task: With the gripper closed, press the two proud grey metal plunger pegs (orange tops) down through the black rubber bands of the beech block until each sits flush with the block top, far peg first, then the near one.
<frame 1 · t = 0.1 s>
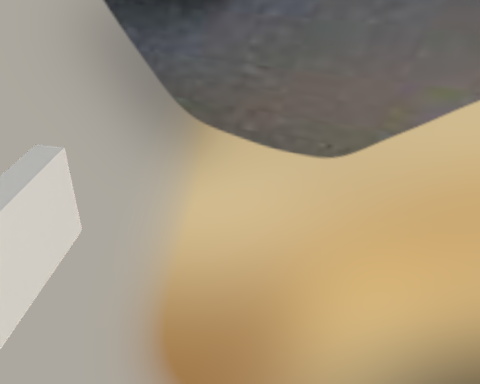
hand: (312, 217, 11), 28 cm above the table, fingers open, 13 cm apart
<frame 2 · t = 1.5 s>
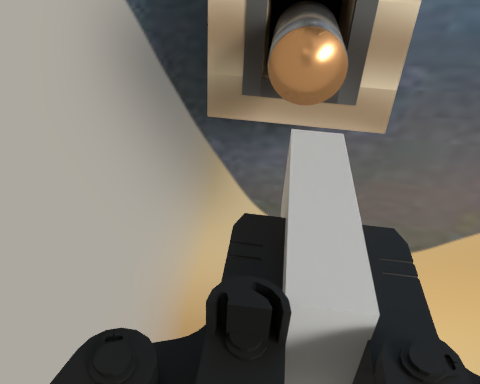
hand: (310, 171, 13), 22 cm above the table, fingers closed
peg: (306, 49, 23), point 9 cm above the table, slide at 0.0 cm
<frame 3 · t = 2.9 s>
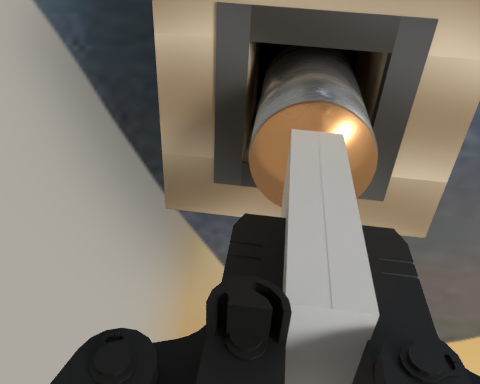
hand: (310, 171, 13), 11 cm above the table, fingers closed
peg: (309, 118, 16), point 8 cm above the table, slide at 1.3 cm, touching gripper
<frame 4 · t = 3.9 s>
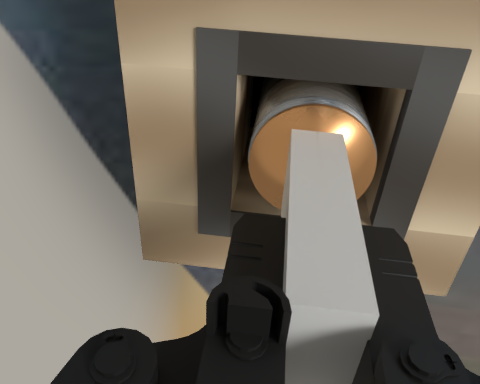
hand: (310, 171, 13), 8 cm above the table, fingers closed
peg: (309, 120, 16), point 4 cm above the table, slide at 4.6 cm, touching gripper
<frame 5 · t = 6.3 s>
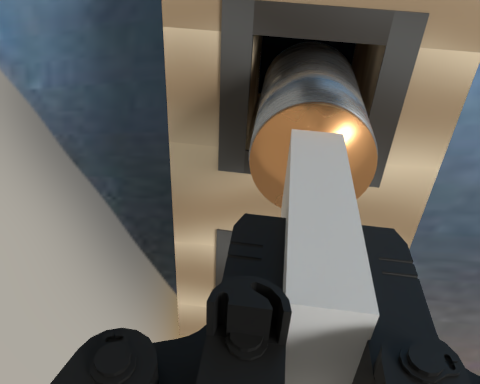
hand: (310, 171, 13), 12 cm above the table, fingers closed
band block: (294, 142, 26), on the table
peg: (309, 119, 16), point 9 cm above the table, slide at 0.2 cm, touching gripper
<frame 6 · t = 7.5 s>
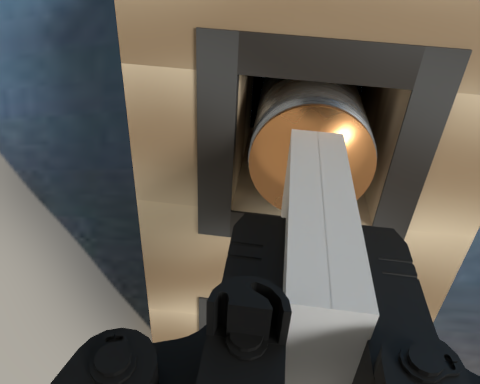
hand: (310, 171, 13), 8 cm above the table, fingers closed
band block: (293, 182, 22), on the table
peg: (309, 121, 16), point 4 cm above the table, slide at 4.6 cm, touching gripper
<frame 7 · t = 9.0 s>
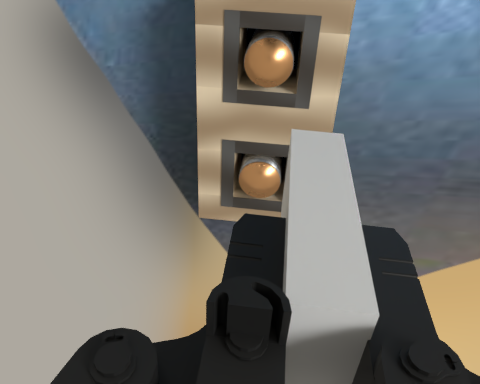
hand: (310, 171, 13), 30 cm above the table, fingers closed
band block: (268, 96, 42), on the table
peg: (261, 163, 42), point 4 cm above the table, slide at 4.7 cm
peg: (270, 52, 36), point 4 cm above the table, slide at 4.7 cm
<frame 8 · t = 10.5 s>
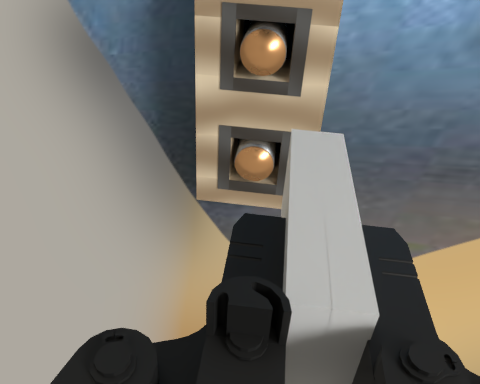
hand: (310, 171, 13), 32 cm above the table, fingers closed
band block: (263, 85, 45), on the table
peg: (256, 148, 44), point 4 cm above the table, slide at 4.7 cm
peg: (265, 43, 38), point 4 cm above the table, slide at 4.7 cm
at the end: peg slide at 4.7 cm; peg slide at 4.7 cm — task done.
